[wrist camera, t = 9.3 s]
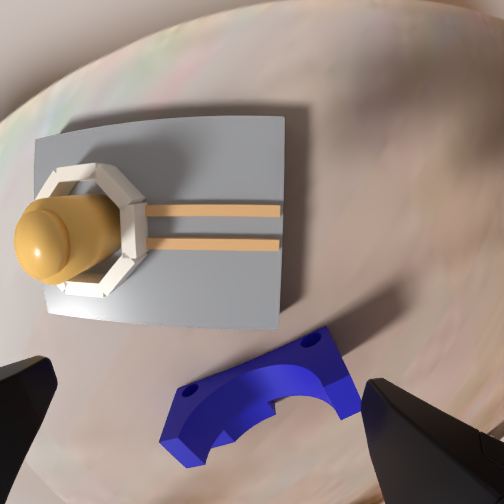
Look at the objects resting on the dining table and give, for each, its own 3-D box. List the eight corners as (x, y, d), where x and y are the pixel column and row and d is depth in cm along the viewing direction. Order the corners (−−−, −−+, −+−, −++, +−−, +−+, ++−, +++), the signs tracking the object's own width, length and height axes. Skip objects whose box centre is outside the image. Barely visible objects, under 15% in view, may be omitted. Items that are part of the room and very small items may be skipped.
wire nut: (122, 190, 16) (65, 194, 10) (127, 259, 16) (76, 292, 11) (67, 196, 16) (4, 203, 10) (73, 260, 16) (15, 288, 11)
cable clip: (208, 424, 22) (199, 479, 16) (177, 387, 21) (158, 442, 15) (346, 370, 20) (371, 422, 15) (325, 324, 20) (349, 374, 14)
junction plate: (281, 124, 17) (288, 107, 13) (276, 316, 19) (281, 346, 15) (52, 142, 17) (16, 136, 13) (62, 303, 19) (32, 323, 15)
